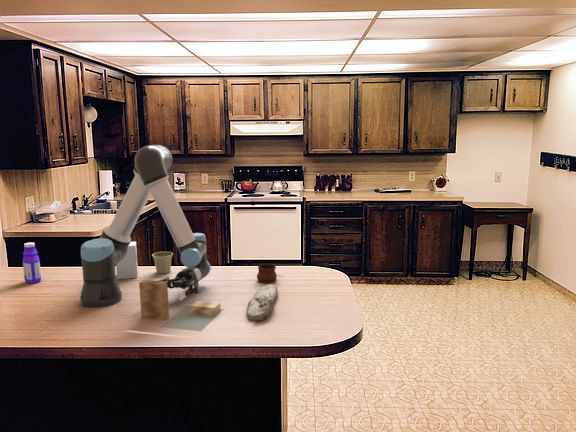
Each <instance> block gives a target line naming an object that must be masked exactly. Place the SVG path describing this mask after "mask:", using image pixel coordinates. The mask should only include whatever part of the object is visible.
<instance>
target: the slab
mask: <svg viewBox="0 0 576 432" xmlns="http://www.w3.org/2000/svg"><path fill="white" fill-rule="evenodd" d="M138 284H139V299H140V300H139V301H140V313H141V314H140V316H141V319H148V320H156V321H157V320H159V321H167V320H168V319H170V318H169V317H170V312H169V311H170V309H169V292H168V290H169V288H167V282H166V281H158V280H151V279H150V280H149V279H143V280H141V281H140V282H138Z"/></svg>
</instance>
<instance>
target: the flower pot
mask: <svg viewBox="0 0 576 432" xmlns="http://www.w3.org/2000/svg"><path fill="white" fill-rule="evenodd" d="M173 255H174V253H173V252H171V251H158V252H154V253H153V254H151V256H152V258H153V261H154V264H155V271H156V273H157V274H160V275H163V274H169V273H170V272H171V270H172V269H171V268H172V267H171V266H172V258H173Z"/></svg>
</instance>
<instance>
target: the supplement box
mask: <svg viewBox="0 0 576 432" xmlns="http://www.w3.org/2000/svg"><path fill="white" fill-rule="evenodd" d="M137 252H138V249H137V241H131V242H130V244H129V246H128V251H127V254H126V256H125V257H124V258H123V259H122V260H121V261H119V262H118V263H117V264H116V265H115V272H116V280H122V279H136V278H138V276H139V270H138V253H137Z"/></svg>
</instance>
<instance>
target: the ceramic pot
mask: <svg viewBox="0 0 576 432" xmlns="http://www.w3.org/2000/svg"><path fill="white" fill-rule="evenodd" d="M257 268H258V272H257V274H256V279H257V281H258V283H262V284H273V283H276V281H277V277H283V275H279V274H277V273H276V268H277V266H276V265H275V264H273V263H267V264H265V263H260V264H259V265H257Z"/></svg>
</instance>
